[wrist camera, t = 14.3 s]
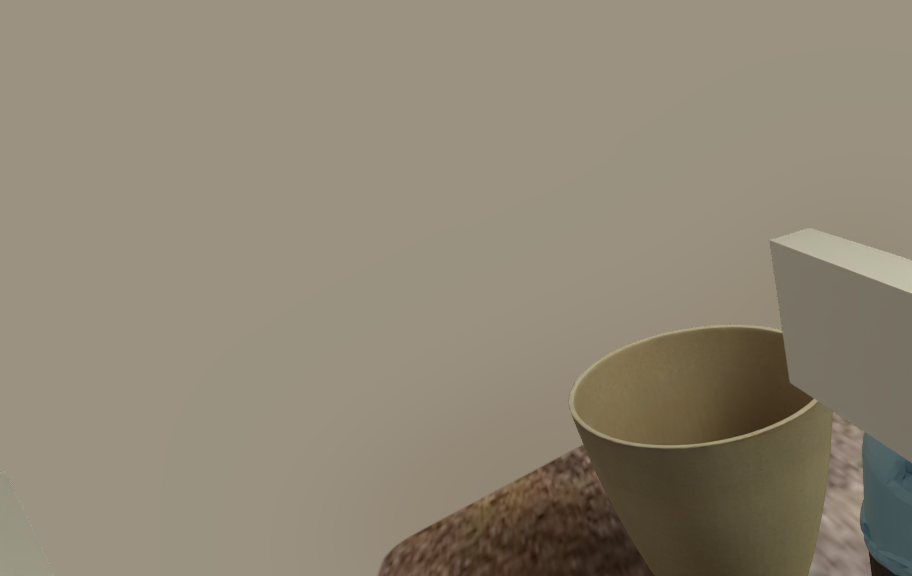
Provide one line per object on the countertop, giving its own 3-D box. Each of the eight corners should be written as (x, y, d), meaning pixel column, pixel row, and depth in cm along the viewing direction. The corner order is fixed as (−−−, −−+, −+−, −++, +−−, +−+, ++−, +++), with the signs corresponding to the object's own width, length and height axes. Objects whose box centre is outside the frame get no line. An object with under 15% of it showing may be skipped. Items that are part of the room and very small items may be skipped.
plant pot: (692, 506, 62) (655, 315, 57) (901, 567, 51) (877, 336, 46) (572, 630, 53) (517, 415, 48) (795, 735, 42) (751, 470, 37)
